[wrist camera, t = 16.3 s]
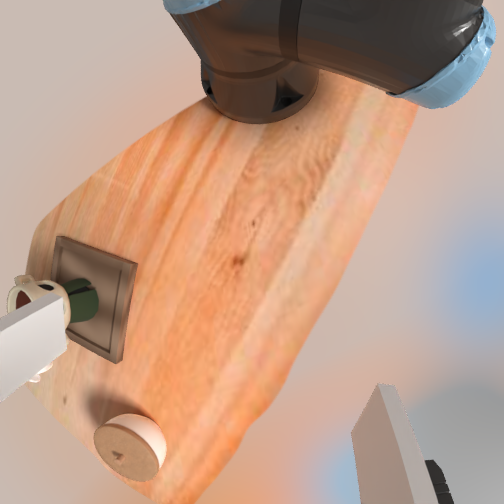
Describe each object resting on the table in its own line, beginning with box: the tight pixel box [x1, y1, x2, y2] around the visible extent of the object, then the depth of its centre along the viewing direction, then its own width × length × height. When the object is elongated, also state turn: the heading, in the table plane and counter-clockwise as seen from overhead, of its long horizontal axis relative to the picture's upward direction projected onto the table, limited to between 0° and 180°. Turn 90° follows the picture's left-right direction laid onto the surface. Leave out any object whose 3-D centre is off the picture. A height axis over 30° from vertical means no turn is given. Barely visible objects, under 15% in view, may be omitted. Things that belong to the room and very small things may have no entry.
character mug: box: [7, 275, 99, 345], centre depth 33 cm, size 11×7×13 cm, turn 41°
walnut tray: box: [51, 236, 138, 364], centre depth 39 cm, size 15×15×2 cm
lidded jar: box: [94, 414, 167, 482], centre depth 35 cm, size 11×11×9 cm
